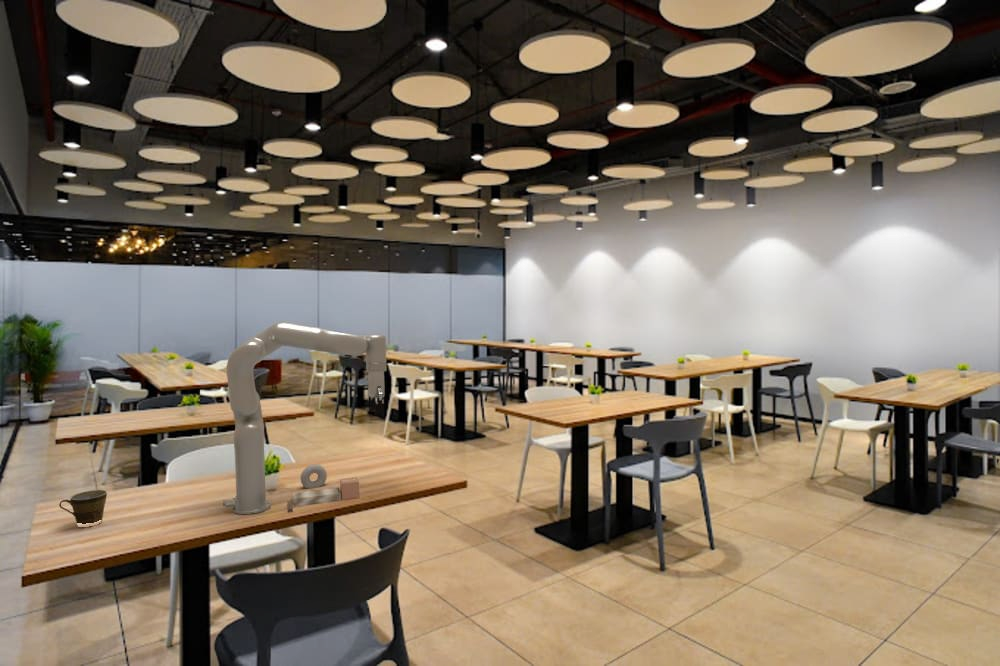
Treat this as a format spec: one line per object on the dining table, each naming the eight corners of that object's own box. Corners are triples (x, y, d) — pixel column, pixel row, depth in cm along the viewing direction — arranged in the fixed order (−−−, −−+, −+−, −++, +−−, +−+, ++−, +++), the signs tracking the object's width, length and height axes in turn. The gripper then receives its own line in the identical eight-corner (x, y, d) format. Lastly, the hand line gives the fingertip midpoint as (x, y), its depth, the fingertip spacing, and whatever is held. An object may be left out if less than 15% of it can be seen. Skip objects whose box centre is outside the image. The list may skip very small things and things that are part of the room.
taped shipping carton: (342, 499, 210) (341, 483, 210) (340, 495, 216) (340, 478, 216) (359, 497, 212) (358, 481, 212) (357, 493, 218) (356, 476, 218)
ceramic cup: (110, 517, 200) (108, 488, 199) (105, 526, 191) (104, 496, 190) (63, 523, 194) (62, 494, 193) (57, 534, 185) (55, 503, 184)
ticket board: (288, 512, 202) (287, 500, 202) (287, 503, 211) (287, 492, 211) (391, 498, 215) (391, 487, 215) (386, 491, 224) (386, 480, 224)
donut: (301, 493, 223) (301, 467, 222) (299, 490, 226) (299, 465, 225) (328, 488, 228) (327, 463, 228) (325, 486, 231) (325, 461, 231)
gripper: (363, 365, 227) (364, 409, 227) (369, 370, 210) (371, 416, 211) (382, 364, 229) (383, 407, 230) (390, 368, 213) (391, 415, 214)
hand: (377, 412), depth 221 cm, fingers open, 9 cm apart
